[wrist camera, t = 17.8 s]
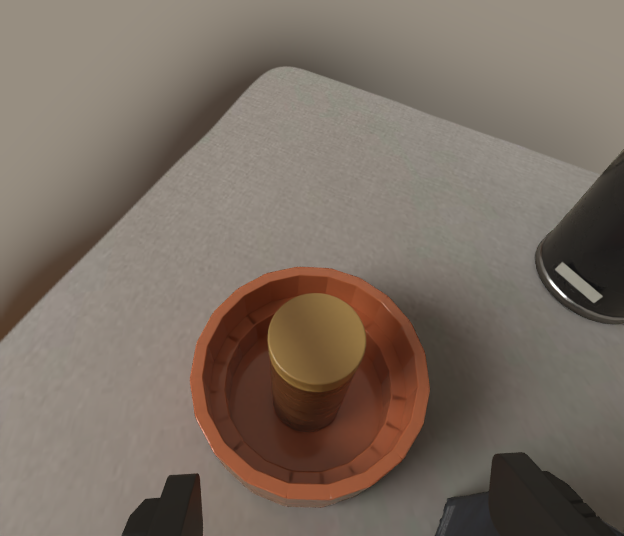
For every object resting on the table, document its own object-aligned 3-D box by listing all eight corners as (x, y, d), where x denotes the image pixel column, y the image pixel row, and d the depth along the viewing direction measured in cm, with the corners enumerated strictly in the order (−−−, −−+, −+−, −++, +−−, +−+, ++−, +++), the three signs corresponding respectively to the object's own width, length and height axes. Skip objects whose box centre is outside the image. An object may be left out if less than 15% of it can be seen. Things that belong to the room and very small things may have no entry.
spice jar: (315, 350, 30) (328, 277, 22) (355, 406, 28) (386, 348, 20) (258, 387, 28) (248, 322, 20) (297, 448, 26) (304, 405, 18)
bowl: (327, 281, 34) (335, 236, 29) (443, 423, 28) (478, 397, 23) (173, 369, 29) (151, 333, 24) (275, 561, 24) (273, 566, 19)
